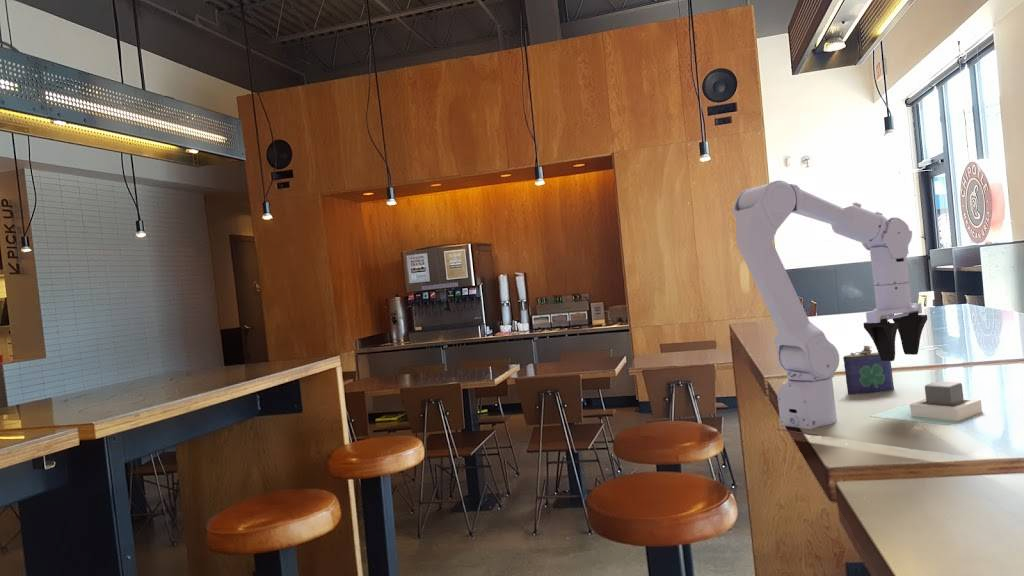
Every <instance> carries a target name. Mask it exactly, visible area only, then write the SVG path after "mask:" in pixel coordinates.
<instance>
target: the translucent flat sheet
mask: <svg viewBox="0 0 1024 576" xmlns="http://www.w3.org/2000/svg"><path fill="white" fill-rule="evenodd" d="M980 413H983V410H982V412H980ZM980 413H977V414H975V415H978V414H980ZM975 415H972V416H971V417H973V416H975ZM869 417H871V418H881V419H886V420H887V419H889V420H900V421H907V422H915V423H927V424H935V425H936V424H937V425H943V426H949V425H952V424H954V423H957V422H960V421H962V420H965V419H967V418H969V417H967V418H964V419H962V420H959V421H956V420H946V419H936V418H926V417H917V416H911V410H910V404H904V405H900V406H897V407H893V408H889V410H888V409H887V410H885V411H882V412H879V413H876V414H873V415H870V416H869Z"/></svg>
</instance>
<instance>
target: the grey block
mask: <svg viewBox="0 0 1024 576" xmlns="http://www.w3.org/2000/svg"><path fill="white" fill-rule="evenodd" d="M963 390H964V389H963V383H961V382H956V381H955V382H953V381H940V380H939V381H934V382H931V383H927V384H925V386H924V392H925V393H924V394H925V399H926V403H927V404H928V405H939V406H951V407H954V406H957V405H960V404H963V403H964V399H965V398H964V391H963Z"/></svg>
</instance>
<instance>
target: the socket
mask: <svg viewBox="0 0 1024 576" xmlns="http://www.w3.org/2000/svg"><path fill="white" fill-rule="evenodd" d="M909 405H910V410H911V416H917V417H926V418H936V419H946V420H956V421H957V422H960V421H962V419H963V420H965V419H967V417H968V418H971V417H973V416H975V414H976V415H978V414H980V412H981V413H983V412H982V411H983V406H982V400H981V399H977V398H976V399H973V398H964V403H963V404H960V405H957V406H954V407H951V406H939V405H928V404H927V403H926V398H925V399H922V400H918V401H916V402H913V403H910V404H909ZM977 413H978V414H977ZM972 415H973V416H972ZM964 418H965V419H964ZM959 420H960V421H959Z"/></svg>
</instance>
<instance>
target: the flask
mask: <svg viewBox="0 0 1024 576" xmlns="http://www.w3.org/2000/svg"><path fill="white" fill-rule="evenodd" d="M863 347H864V348H863V350H861V351H856V352H855V353H853V352H850V354H848V355H843V365H844V374H845V379H846V380H845V381H846V389H847V394H848V395H861V394H863V395H864V394H871V393H872V394H874V393H881V392H889V391H890V392H891V391H894V390H895V386H894V377H893V368H892V361H882V360H881V358H880V356H879V353H878V351H877V352H872V351H873V350H872V346H870V345H863Z"/></svg>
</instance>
